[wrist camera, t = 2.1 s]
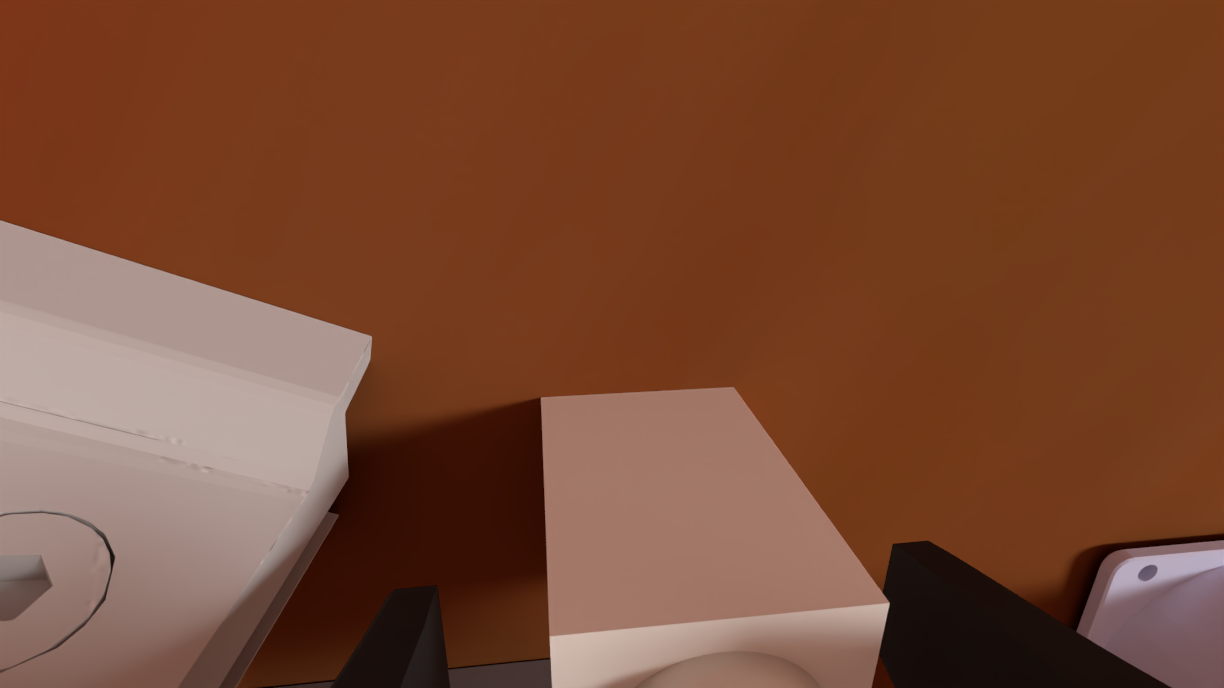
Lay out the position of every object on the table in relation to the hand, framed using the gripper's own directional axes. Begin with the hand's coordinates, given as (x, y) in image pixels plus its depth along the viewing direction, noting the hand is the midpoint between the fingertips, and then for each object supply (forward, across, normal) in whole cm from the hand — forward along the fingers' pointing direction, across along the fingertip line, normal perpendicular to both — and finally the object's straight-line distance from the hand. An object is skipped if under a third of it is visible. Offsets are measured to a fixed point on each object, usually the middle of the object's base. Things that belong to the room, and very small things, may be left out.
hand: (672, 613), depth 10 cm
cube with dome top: (+4, 0, 0) cm, 4 cm away
